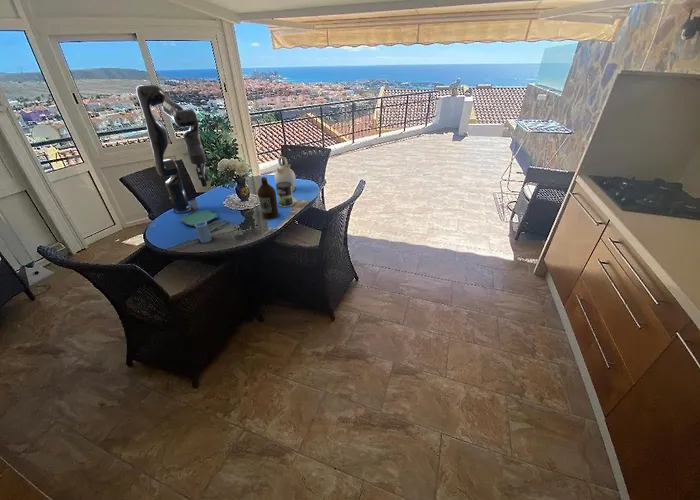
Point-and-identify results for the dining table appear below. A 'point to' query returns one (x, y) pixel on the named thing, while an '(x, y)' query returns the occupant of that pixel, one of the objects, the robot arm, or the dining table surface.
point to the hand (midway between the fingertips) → (205, 183)
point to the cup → (203, 232)
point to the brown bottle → (267, 200)
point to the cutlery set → (202, 218)
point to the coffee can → (285, 194)
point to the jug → (285, 173)
